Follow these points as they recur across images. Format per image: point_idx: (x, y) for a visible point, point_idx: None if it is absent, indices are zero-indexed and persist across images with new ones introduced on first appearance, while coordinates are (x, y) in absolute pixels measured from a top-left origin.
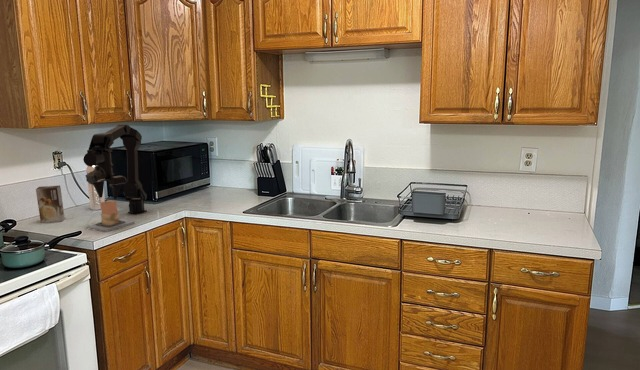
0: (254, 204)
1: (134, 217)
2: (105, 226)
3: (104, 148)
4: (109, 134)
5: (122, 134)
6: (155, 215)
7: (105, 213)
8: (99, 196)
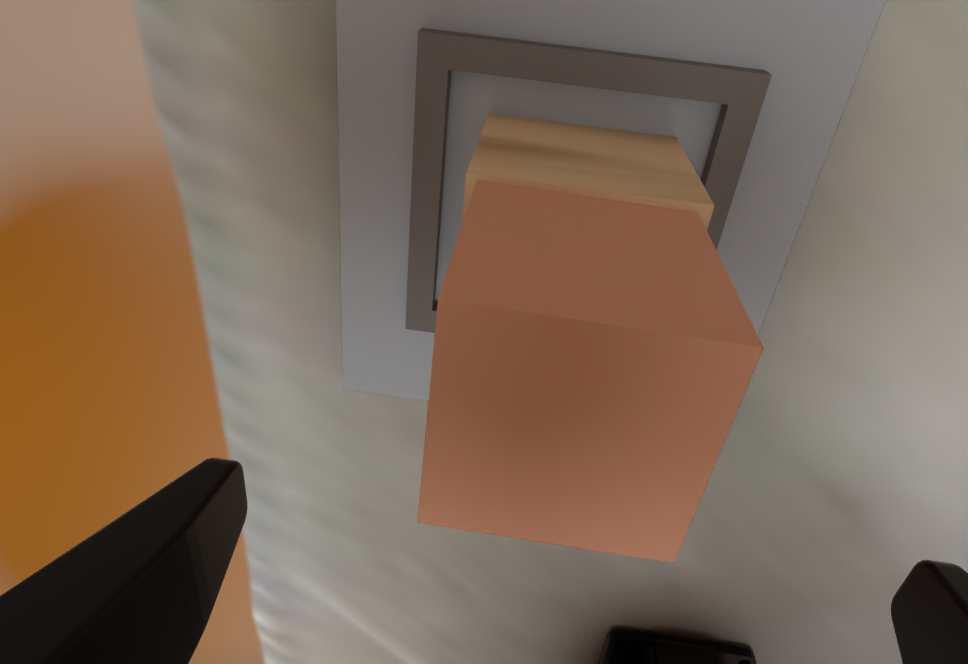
0: None
1: (549, 543)
2: (512, 39)
3: None
4: None
5: None
6: (391, 621)
7: (573, 200)
8: (965, 583)
